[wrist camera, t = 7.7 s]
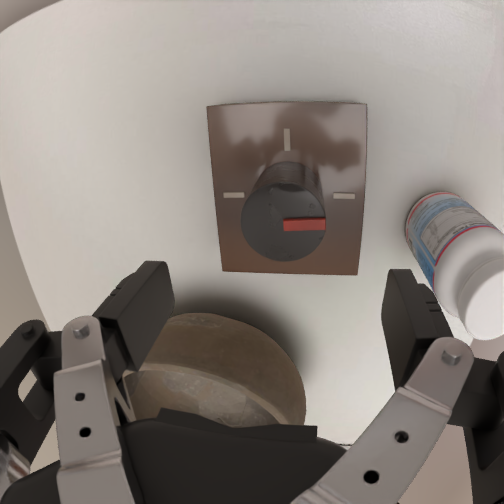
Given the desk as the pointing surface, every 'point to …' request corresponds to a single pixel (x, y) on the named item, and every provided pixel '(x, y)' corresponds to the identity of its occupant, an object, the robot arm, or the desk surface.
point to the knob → (284, 213)
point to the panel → (291, 150)
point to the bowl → (218, 374)
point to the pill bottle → (460, 260)
